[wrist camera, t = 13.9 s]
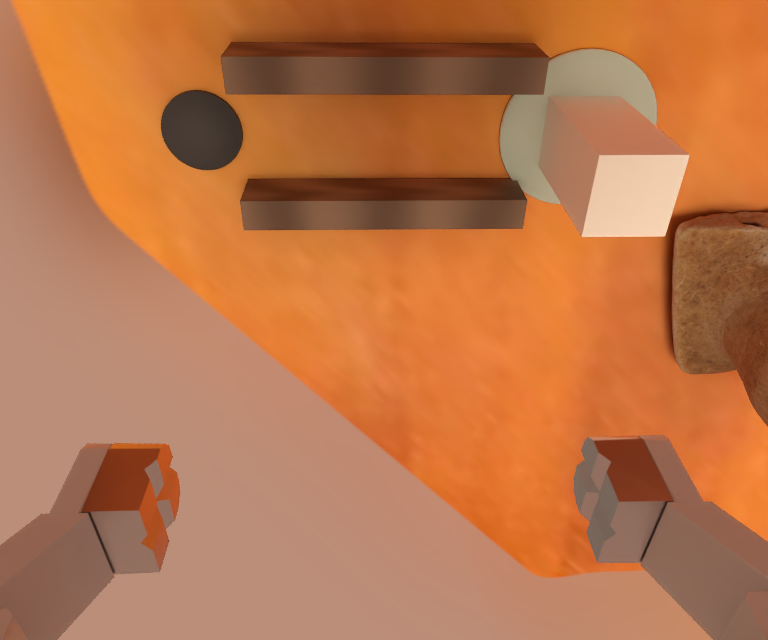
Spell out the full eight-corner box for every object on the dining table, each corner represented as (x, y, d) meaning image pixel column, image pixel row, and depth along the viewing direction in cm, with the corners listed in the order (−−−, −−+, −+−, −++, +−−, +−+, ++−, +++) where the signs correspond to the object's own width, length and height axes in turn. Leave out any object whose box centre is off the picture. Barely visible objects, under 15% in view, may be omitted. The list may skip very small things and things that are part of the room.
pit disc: (145, 116, 39) (144, 117, 39) (208, 74, 38) (208, 76, 37) (197, 181, 41) (196, 183, 41) (258, 144, 40) (257, 146, 40)
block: (538, 165, 41) (581, 236, 33) (548, 96, 39) (599, 155, 30) (605, 165, 41) (665, 236, 33) (620, 96, 39) (689, 154, 31)
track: (251, 206, 43) (244, 230, 40) (231, 42, 37) (220, 56, 34) (511, 205, 43) (522, 228, 40) (534, 43, 37) (549, 57, 34)
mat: (474, 101, 39) (475, 103, 39) (629, 15, 36) (631, 16, 36) (532, 225, 44) (533, 228, 44) (671, 157, 42) (674, 159, 41)
